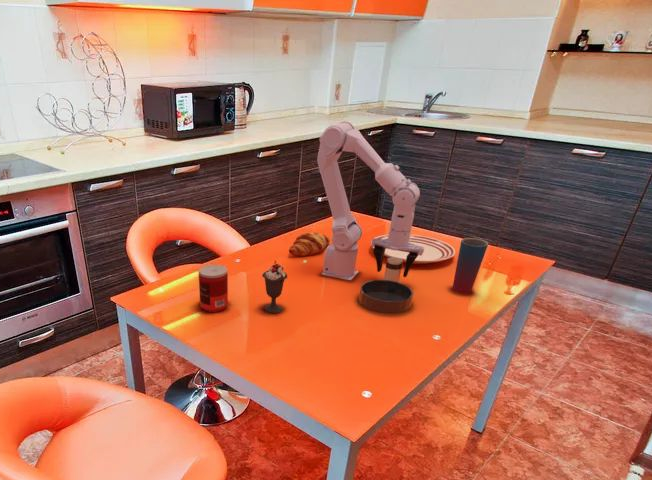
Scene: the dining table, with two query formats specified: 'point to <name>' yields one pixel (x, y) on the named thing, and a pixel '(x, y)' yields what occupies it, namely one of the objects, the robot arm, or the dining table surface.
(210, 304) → the canned food
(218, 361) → the dining table surface
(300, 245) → the croissant
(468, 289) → the cup
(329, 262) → the robot arm
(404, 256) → the dinner plate
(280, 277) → the sundae
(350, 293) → the dining table surface
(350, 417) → the dining table surface
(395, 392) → the dining table surface
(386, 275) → the beige cylinder
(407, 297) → the pan
